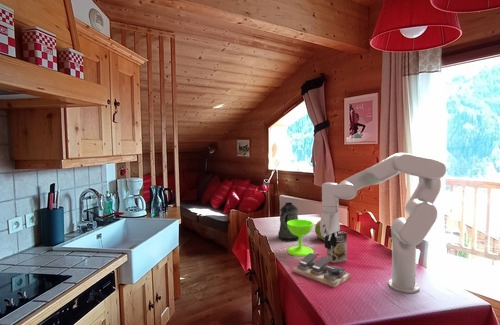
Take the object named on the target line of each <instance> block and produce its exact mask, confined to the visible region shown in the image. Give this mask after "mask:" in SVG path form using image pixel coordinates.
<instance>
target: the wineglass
mask: <svg viewBox="0 0 500 325" xmlns="http://www.w3.org/2000/svg"><path fill="white" fill-rule="evenodd" d="M287 227H288V229H289V230H290V232H291V233H292V234H294V235H296V236H299V240H298V245H293V246H290V247H288V248H287V252H286V253H288V254H289V255H292V256H294V257H306V256H307V255H308V254H309V253H313V254H315V253H314V250H313V249H312V248H311V247H308V246H305V245H303V238H302V237H305V236H307V235H308V234H310V233H311V231H312V230H313V227H314V222H313V221H311V220H308V219H298V220H290V221H288V222H287Z"/></svg>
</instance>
